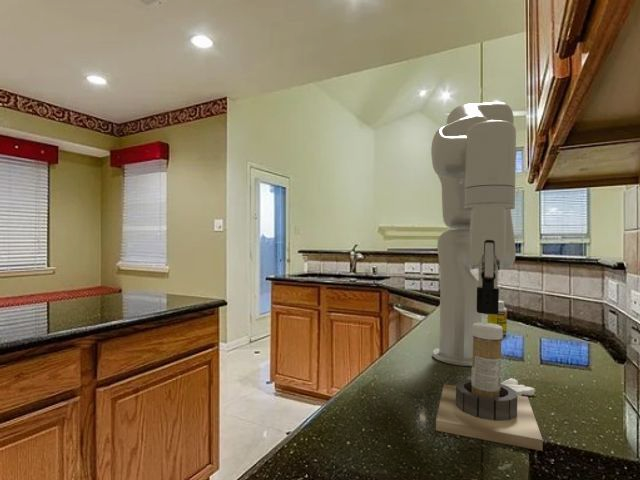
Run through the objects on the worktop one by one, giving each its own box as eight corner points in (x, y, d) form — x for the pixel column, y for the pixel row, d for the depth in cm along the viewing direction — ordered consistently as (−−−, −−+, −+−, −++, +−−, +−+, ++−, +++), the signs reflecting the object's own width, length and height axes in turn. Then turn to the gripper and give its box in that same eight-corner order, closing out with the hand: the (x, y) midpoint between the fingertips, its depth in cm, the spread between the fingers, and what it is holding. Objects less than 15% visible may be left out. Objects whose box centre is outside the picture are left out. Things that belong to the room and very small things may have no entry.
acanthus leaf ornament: (513, 385, 79) (513, 375, 79) (540, 398, 72) (540, 388, 72) (481, 387, 77) (482, 377, 77) (506, 401, 70) (506, 391, 70)
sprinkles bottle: (476, 399, 66) (478, 320, 66) (504, 407, 63) (507, 325, 63) (465, 406, 63) (467, 324, 63) (494, 416, 59) (497, 329, 59)
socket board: (443, 392, 73) (444, 368, 73) (527, 405, 67) (527, 379, 67) (435, 430, 58) (436, 400, 58) (542, 451, 52) (543, 417, 53)
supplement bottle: (496, 336, 118) (497, 302, 118) (483, 331, 124) (483, 300, 124) (510, 334, 120) (511, 302, 120) (497, 330, 125) (497, 299, 126)
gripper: (465, 204, 71) (463, 304, 71) (463, 195, 57) (461, 318, 57) (510, 204, 68) (508, 307, 68) (520, 193, 54) (517, 323, 54)
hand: (487, 312), depth 63 cm, fingers closed
